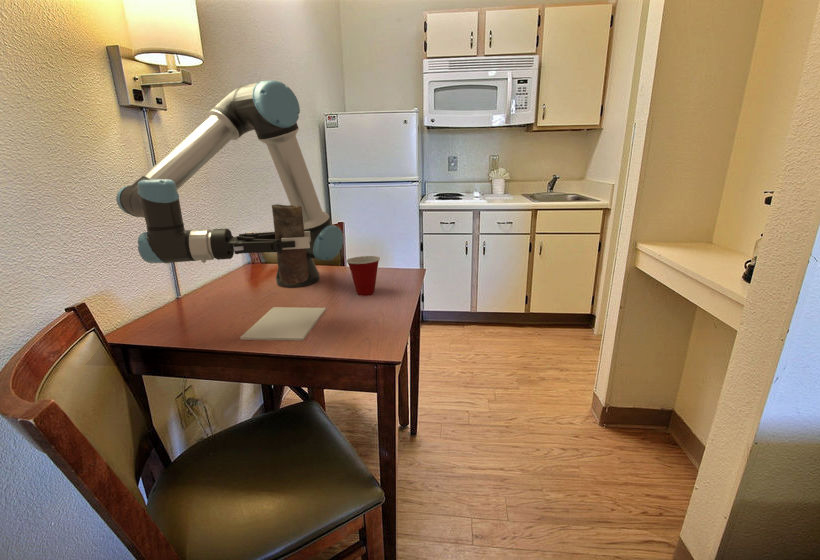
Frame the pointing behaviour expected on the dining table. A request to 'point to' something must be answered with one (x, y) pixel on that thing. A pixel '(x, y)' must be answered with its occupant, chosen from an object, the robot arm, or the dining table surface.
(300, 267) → the brown rough cylinder
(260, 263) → the dining table surface
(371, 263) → the plastic cup
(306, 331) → the mat
